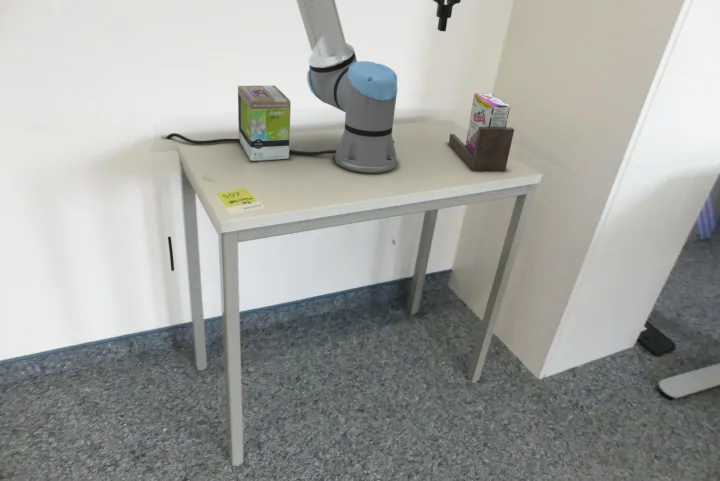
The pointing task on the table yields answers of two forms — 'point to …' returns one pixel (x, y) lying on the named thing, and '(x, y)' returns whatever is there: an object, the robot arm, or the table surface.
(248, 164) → the table surface
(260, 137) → the tea box
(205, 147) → the table surface
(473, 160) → the book rack
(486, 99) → the candy bar box
